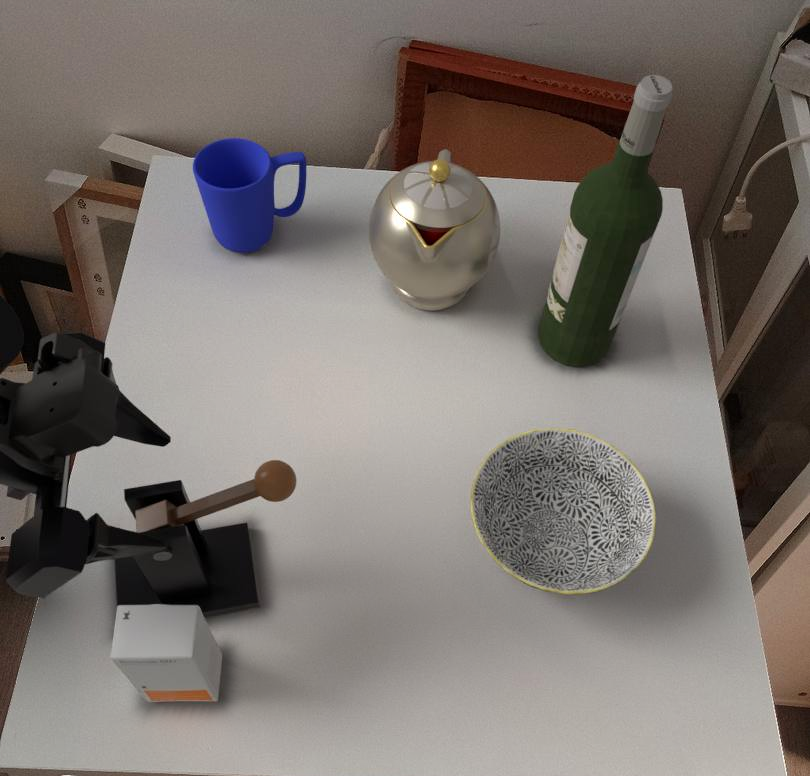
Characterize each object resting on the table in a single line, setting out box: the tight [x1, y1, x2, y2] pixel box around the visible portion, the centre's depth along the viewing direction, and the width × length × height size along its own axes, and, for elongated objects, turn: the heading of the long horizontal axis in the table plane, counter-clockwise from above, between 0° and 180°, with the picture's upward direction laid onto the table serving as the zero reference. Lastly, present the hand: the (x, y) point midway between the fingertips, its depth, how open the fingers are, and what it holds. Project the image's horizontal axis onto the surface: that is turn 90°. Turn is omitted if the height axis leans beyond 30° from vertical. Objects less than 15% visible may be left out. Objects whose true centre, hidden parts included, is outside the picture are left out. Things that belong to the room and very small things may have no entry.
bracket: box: [113, 479, 261, 618], centre depth 69 cm, size 12×8×13 cm, turn 102°
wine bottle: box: [537, 74, 673, 368], centre depth 76 cm, size 8×8×30 cm
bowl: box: [470, 427, 657, 595], centre depth 74 cm, size 16×16×8 cm
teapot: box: [368, 148, 501, 311], centre depth 86 cm, size 18×14×16 cm
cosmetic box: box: [110, 604, 223, 703], centre depth 65 cm, size 6×4×12 cm
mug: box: [192, 137, 308, 254], centre depth 91 cm, size 8×12×10 cm
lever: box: [135, 459, 297, 533], centre depth 64 cm, size 13×3×3 cm, turn 102°
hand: (166, 493), depth 63 cm, fingers open, 9 cm apart
